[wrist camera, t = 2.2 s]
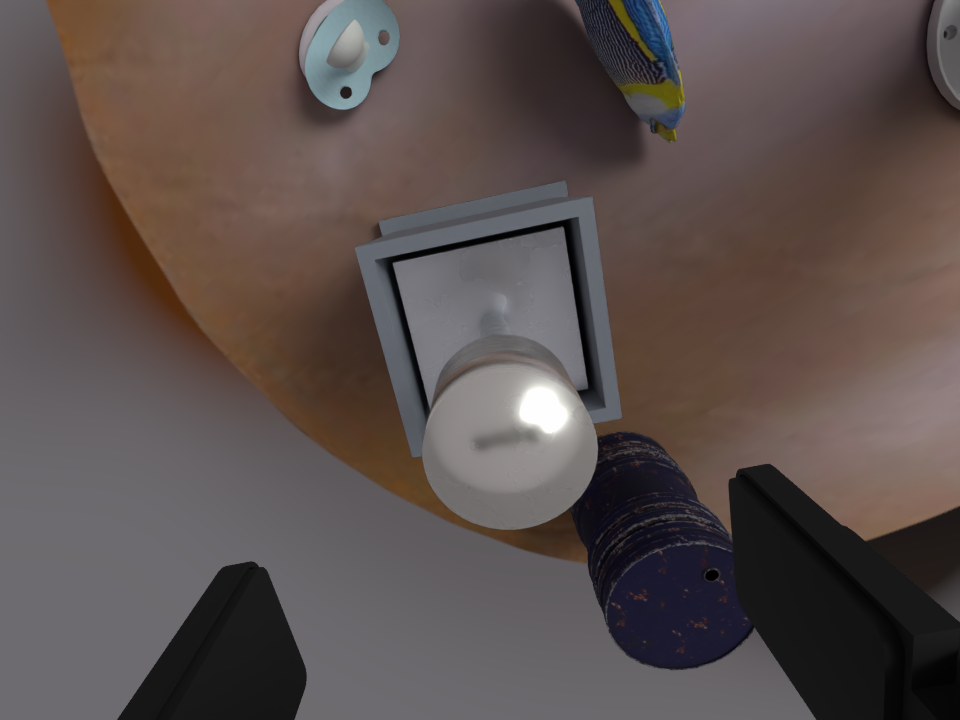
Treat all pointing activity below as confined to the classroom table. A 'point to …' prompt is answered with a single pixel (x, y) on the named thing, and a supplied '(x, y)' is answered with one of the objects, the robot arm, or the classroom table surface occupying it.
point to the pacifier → (346, 49)
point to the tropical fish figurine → (638, 58)
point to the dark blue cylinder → (658, 558)
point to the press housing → (479, 226)
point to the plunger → (501, 378)
